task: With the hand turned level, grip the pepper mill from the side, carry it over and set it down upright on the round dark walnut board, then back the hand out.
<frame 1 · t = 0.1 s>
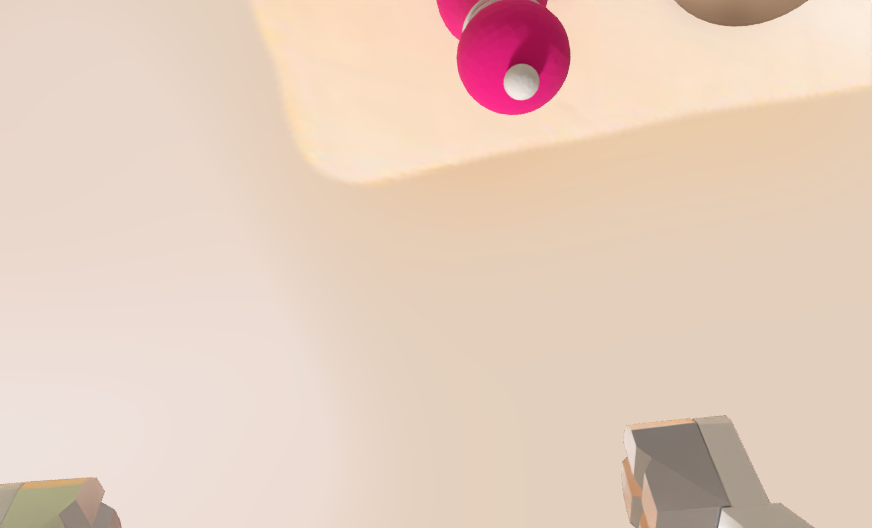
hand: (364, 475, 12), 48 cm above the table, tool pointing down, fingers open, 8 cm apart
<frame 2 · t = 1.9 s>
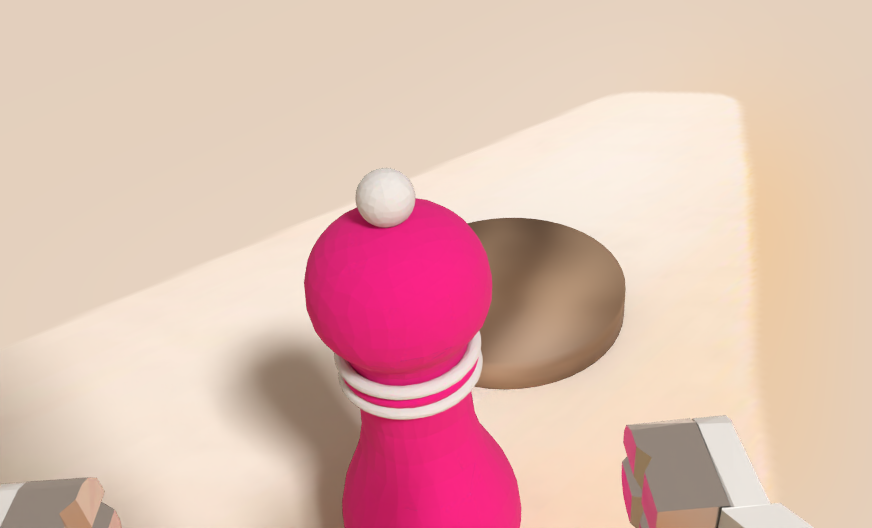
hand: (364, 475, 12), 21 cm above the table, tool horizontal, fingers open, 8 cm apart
walnut board: (507, 307, 49), on the table
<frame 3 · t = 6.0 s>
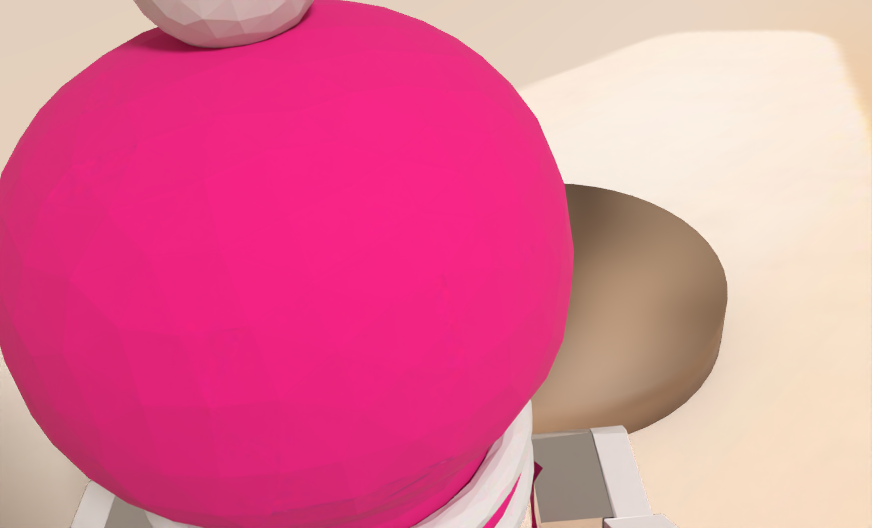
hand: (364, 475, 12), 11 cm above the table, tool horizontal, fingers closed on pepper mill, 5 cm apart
walnut board: (538, 313, 32), on the table
when the fingers open (14 cm above the table, at t = 10.1 s): pepper mill stays where it is, resting on walnut board.
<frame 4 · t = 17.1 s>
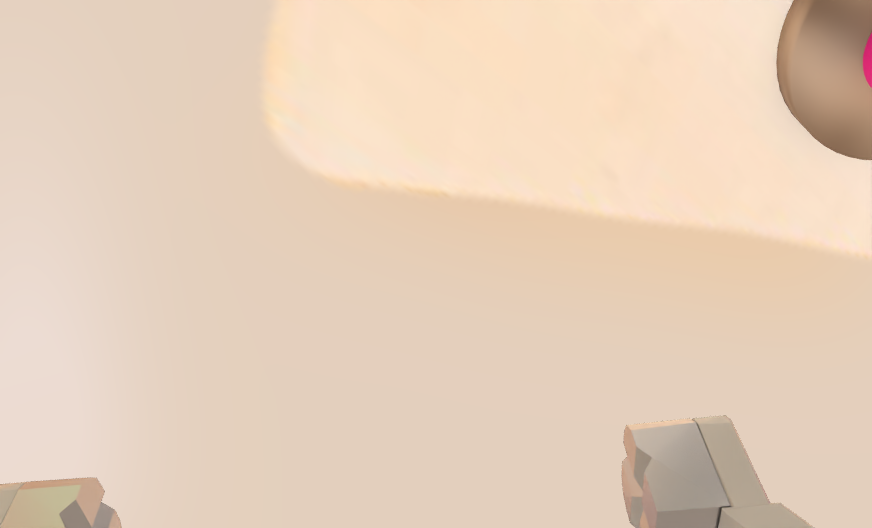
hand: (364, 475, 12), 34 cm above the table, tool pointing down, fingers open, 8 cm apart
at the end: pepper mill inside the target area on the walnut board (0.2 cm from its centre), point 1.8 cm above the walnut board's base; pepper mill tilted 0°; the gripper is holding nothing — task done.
